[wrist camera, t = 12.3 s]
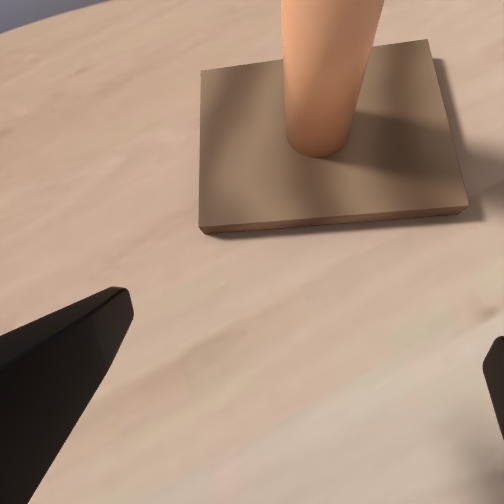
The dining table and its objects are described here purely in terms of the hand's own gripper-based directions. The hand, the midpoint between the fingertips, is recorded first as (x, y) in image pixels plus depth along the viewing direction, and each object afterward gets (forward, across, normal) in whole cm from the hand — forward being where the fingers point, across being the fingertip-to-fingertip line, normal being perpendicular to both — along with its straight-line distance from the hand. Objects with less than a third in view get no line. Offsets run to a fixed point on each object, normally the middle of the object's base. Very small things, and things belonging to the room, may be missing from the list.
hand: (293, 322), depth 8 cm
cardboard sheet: (+20, 0, -1) cm, 20 cm away
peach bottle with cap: (+19, 0, -2) cm, 19 cm away
